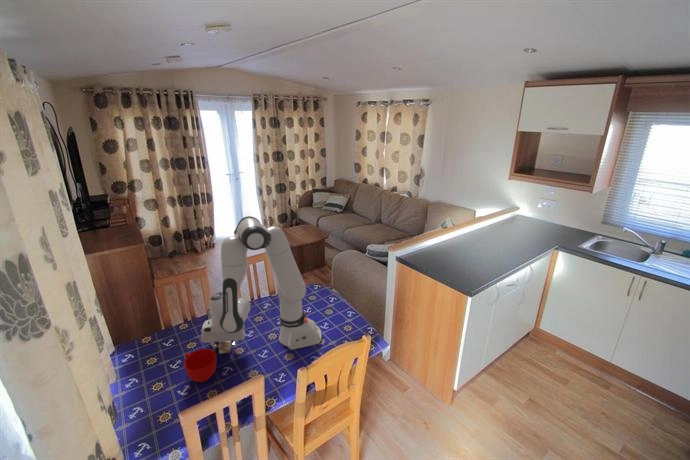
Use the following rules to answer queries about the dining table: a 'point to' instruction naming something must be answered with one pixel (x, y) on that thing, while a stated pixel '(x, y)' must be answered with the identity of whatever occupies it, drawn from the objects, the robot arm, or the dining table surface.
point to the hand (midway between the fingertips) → (224, 346)
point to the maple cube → (225, 346)
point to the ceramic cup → (200, 364)
